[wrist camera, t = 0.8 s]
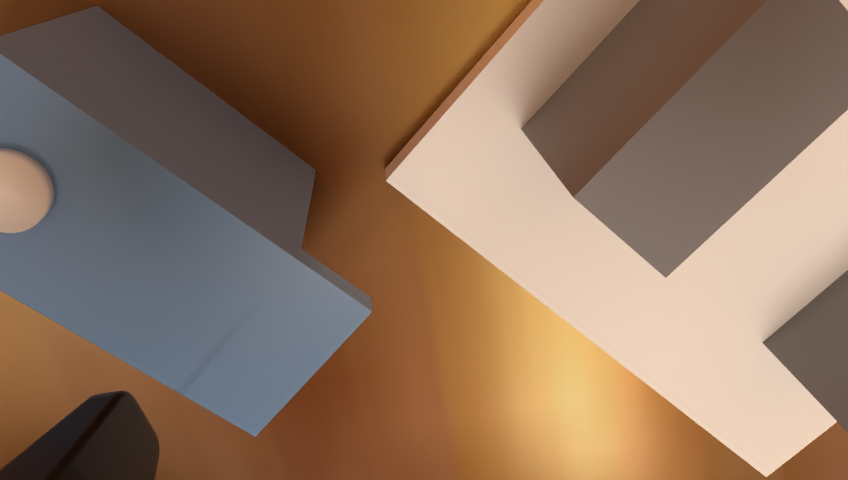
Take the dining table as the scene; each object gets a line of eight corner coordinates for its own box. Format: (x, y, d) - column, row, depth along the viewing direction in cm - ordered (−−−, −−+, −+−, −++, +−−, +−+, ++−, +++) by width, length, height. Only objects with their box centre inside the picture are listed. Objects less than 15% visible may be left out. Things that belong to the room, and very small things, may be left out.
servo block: (281, 309, 22) (253, 448, 16) (-58, 86, 18) (-253, 161, 13) (369, 209, 21) (372, 321, 15) (25, -50, 17) (-147, -36, 11)
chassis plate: (752, 457, 26) (858, 604, 21) (384, 169, 20) (393, 264, 15) (1062, 210, 23) (1293, 305, 17) (729, -227, 17) (914, -302, 11)
